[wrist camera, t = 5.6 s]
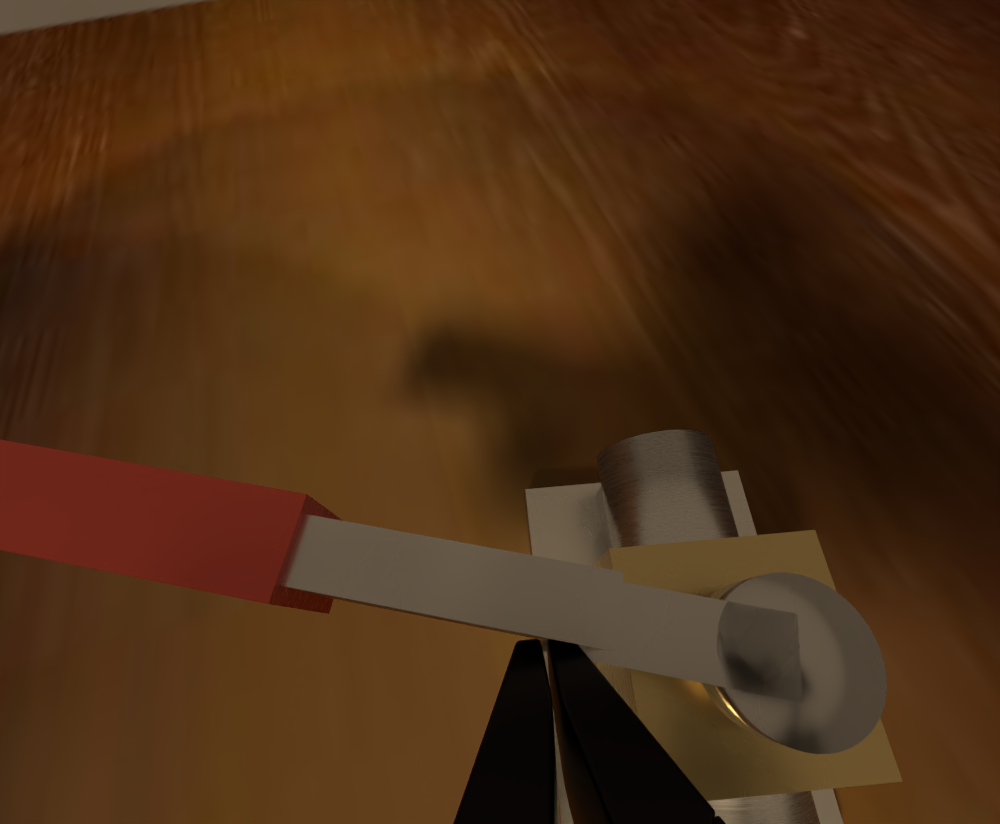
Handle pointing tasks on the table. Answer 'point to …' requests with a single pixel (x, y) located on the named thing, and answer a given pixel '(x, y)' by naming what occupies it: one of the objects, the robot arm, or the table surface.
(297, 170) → the table surface
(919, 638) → the table surface
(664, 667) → the valve lever
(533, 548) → the stand
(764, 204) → the table surface
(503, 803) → the robot arm
